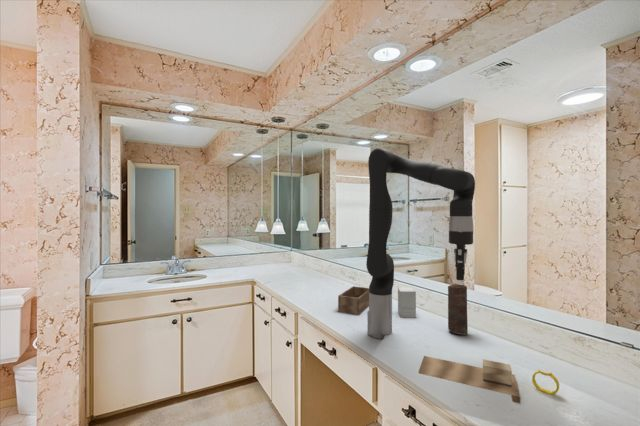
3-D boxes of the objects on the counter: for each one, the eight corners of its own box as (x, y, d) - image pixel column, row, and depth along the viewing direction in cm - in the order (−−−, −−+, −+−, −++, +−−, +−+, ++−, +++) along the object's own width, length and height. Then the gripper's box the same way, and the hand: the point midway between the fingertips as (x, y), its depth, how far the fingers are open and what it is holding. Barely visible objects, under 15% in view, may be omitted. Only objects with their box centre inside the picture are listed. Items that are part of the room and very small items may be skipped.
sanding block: (483, 380, 87) (483, 365, 87) (482, 374, 91) (482, 359, 91) (511, 387, 84) (511, 371, 84) (510, 380, 88) (510, 364, 88)
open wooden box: (338, 311, 151) (338, 295, 151) (353, 300, 170) (353, 286, 170) (359, 315, 146) (359, 298, 146) (372, 303, 165) (372, 288, 165)
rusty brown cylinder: (455, 337, 120) (456, 287, 120) (443, 330, 128) (443, 283, 127) (471, 335, 123) (472, 286, 122) (458, 328, 130) (459, 282, 129)
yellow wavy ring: (532, 390, 86) (530, 368, 86) (534, 386, 88) (533, 365, 88) (558, 398, 81) (556, 375, 82) (560, 394, 83) (558, 372, 84)
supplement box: (412, 312, 150) (412, 287, 149) (416, 318, 142) (416, 291, 142) (397, 312, 150) (397, 287, 150) (400, 317, 143) (400, 291, 143)
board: (418, 377, 92) (418, 372, 92) (423, 360, 102) (423, 355, 102) (520, 402, 80) (520, 396, 80) (514, 379, 91) (514, 374, 91)
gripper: (450, 228, 110) (450, 272, 110) (447, 230, 98) (446, 280, 98) (473, 228, 107) (473, 274, 107) (473, 231, 94) (472, 283, 94)
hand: (460, 277), depth 102 cm, fingers open, 8 cm apart
